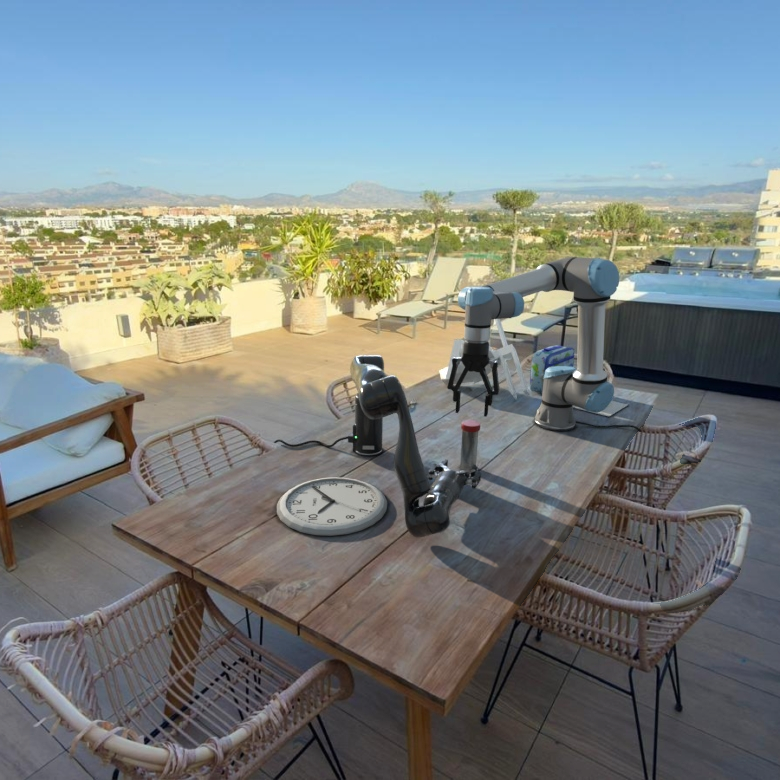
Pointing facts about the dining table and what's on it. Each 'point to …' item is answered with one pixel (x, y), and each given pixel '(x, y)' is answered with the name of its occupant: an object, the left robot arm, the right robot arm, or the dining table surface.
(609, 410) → the invitation card
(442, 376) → the white plastic object
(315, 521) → the wall clock
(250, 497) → the dining table surface
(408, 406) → the fork
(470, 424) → the lid
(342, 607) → the dining table surface
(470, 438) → the bottle
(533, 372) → the lunch box
